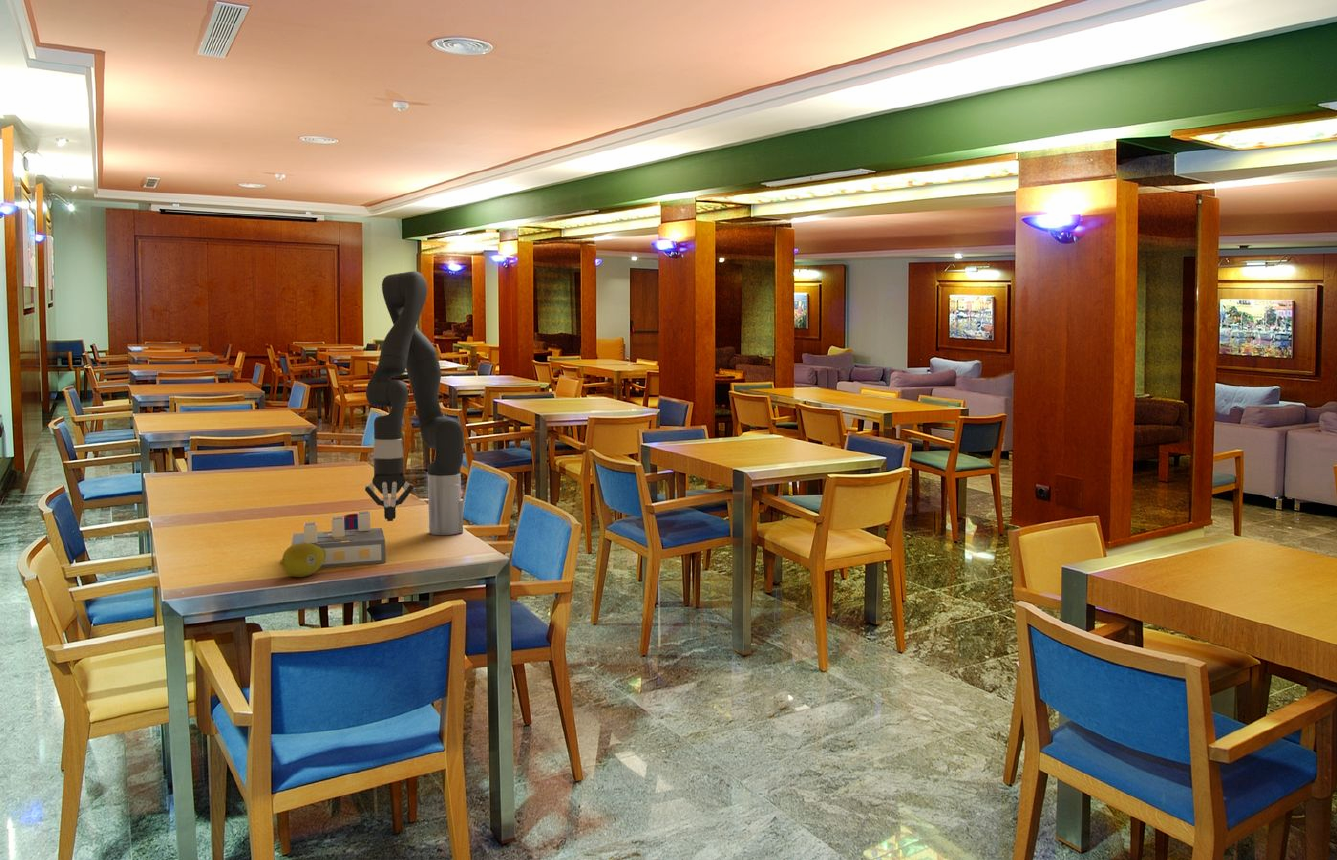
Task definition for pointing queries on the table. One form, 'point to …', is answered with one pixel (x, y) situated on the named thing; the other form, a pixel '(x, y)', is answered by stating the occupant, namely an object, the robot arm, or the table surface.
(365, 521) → the slider far
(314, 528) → the slider near
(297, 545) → the lemon
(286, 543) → the table surface
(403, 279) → the robot arm
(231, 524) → the table surface
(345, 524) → the mug
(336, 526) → the slider mid
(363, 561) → the console
